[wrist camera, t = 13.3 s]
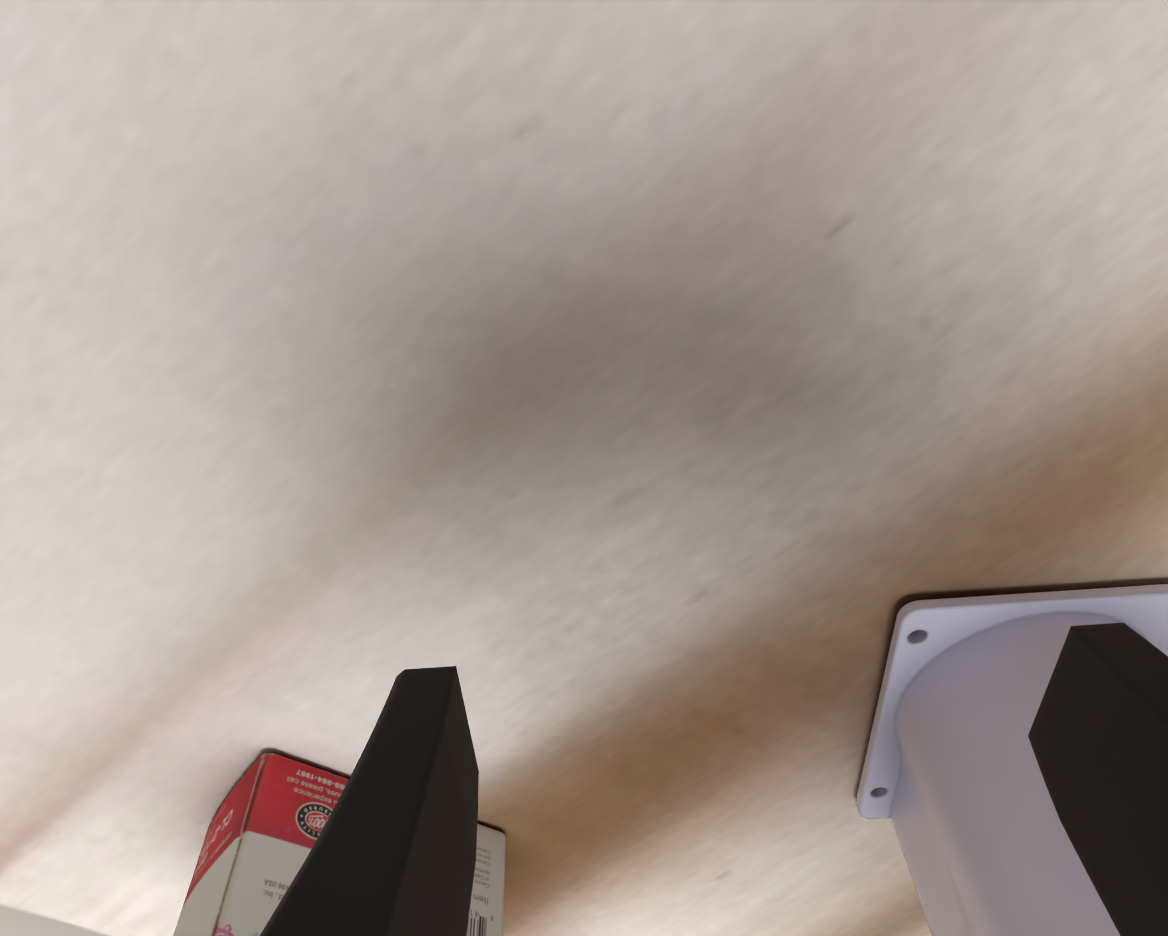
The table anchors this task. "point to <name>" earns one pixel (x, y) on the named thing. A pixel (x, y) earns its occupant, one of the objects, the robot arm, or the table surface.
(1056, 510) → the table surface
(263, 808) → the ink box
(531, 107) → the table surface
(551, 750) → the table surface
